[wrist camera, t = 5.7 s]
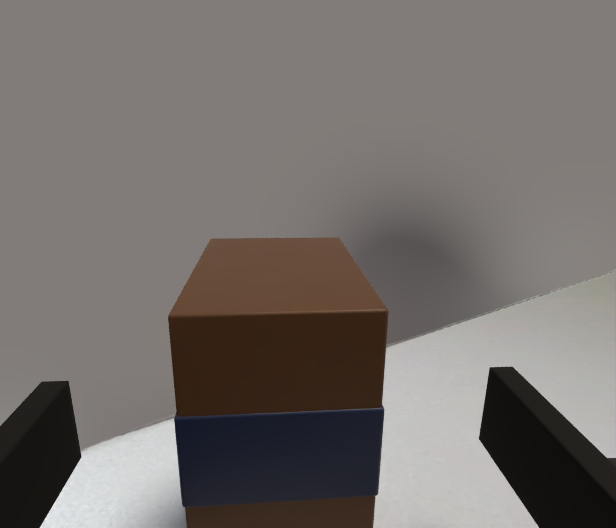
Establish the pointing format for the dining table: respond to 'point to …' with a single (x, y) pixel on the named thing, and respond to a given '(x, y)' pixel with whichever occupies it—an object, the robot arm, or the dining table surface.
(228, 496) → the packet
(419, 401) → the dining table surface
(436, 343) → the dining table surface
